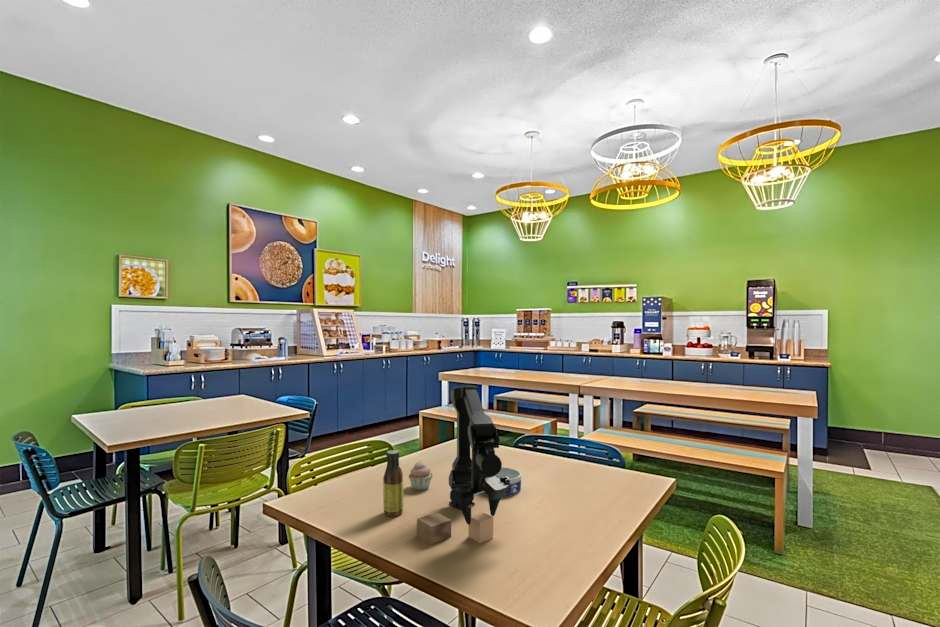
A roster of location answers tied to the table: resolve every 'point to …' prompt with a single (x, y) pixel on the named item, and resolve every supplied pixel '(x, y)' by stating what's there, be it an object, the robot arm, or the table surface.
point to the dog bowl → (511, 479)
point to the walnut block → (433, 528)
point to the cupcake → (420, 476)
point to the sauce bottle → (393, 485)
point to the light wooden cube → (481, 527)
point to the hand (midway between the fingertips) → (480, 519)
